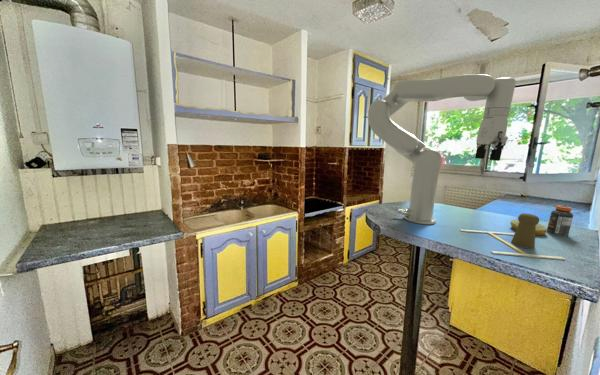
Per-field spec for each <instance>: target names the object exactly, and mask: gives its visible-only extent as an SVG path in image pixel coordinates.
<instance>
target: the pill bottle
mask: <svg viewBox="0 0 600 375" xmlns="http://www.w3.org/2000/svg"><path fill="white" fill-rule="evenodd" d="M573 218H574V213H572V207H571V206H567V205H560V204H559V205H556V206H555V209H554V210H552V211H551V212H550V216H549V220H548V224H547V227H546V229H547V232H546V233H548V234H550V235H553V236H557V237H568V236H569V234H570V230H571V227H572V226H571V225H572V224H573V223H572V222H573Z"/></svg>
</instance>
